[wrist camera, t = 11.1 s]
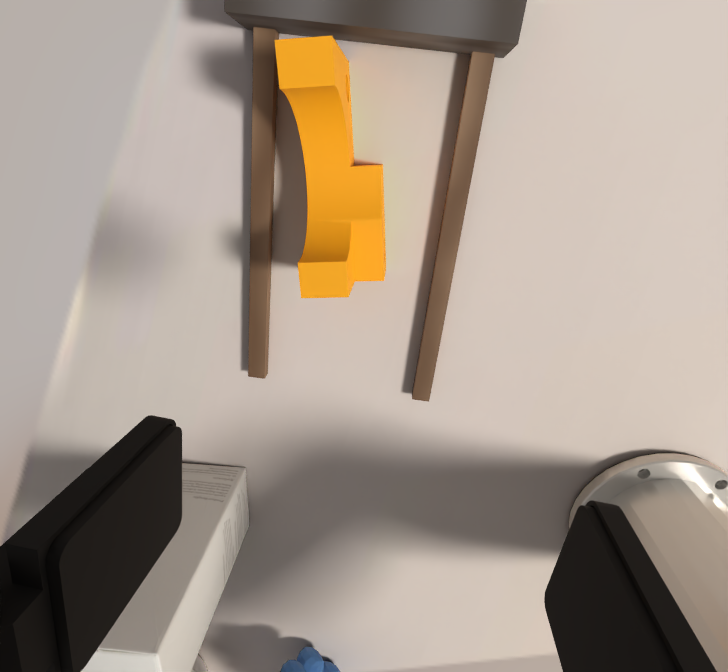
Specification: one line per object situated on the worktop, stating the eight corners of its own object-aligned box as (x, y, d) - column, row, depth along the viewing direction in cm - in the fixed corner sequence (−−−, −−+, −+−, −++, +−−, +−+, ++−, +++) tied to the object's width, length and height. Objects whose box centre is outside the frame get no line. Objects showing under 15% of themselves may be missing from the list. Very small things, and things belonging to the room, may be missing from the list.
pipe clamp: (386, 267, 30) (381, 296, 24) (321, 269, 31) (301, 298, 25) (379, 60, 26) (371, 32, 20) (304, 65, 26) (274, 39, 20)
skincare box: (161, 516, 40) (24, 719, 26) (151, 453, 38) (-6, 641, 23) (254, 525, 40) (168, 738, 25) (251, 463, 37) (153, 660, 23)
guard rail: (513, 6, 24) (530, -17, 21) (436, 397, 33) (439, 423, 30) (248, -23, 25) (224, -49, 21) (243, 370, 34) (226, 393, 31)
